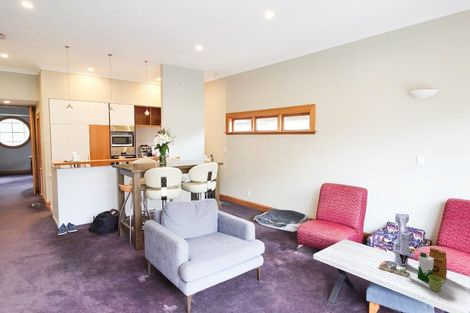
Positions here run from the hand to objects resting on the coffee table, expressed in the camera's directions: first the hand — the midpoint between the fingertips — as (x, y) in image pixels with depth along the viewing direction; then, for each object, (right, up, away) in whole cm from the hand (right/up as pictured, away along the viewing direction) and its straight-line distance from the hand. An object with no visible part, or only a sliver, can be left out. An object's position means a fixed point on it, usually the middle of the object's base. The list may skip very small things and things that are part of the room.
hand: (403, 263), depth 222 cm
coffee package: (+25, -9, -3) cm, 27 cm away
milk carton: (+12, -9, -8) cm, 17 cm away
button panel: (-5, -8, +5) cm, 11 cm away
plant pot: (+9, -10, -23) cm, 26 cm away
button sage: (0, -7, 0) cm, 7 cm away
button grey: (-5, -7, +5) cm, 10 cm away
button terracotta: (-11, -6, +9) cm, 16 cm away
